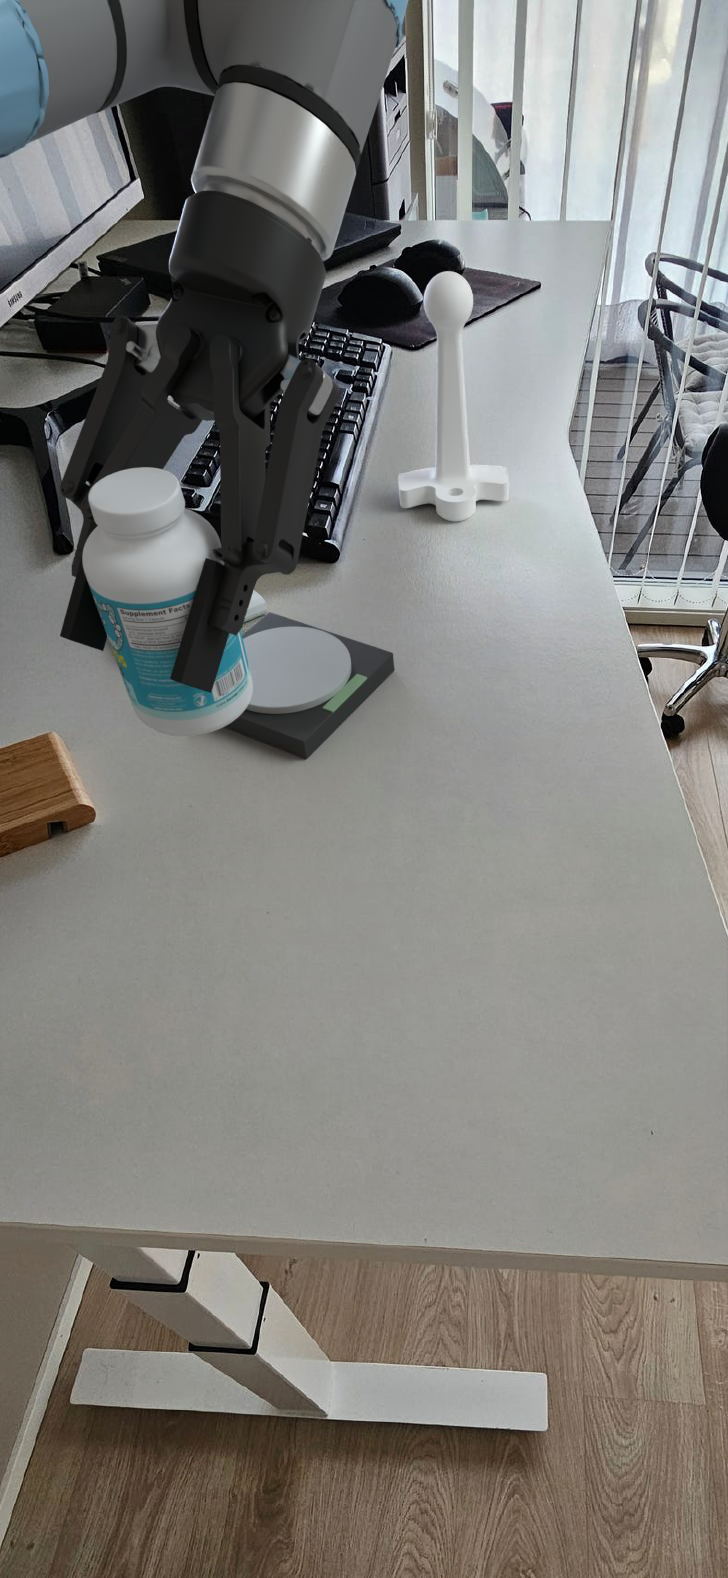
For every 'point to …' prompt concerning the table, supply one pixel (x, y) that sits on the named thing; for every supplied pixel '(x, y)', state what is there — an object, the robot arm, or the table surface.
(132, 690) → the pill bottle
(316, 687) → the scale
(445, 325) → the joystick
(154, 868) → the table surface
